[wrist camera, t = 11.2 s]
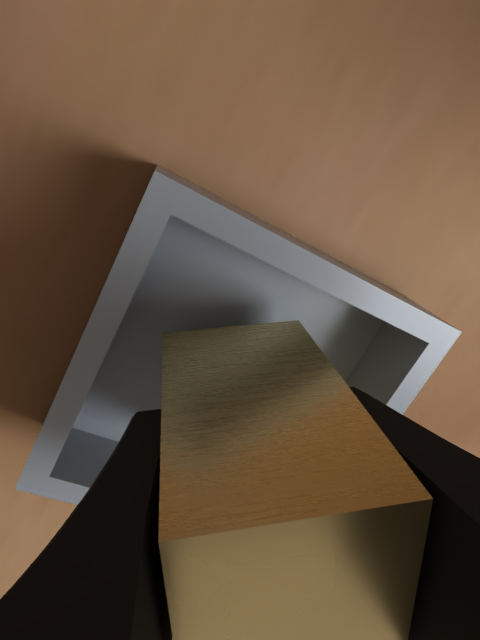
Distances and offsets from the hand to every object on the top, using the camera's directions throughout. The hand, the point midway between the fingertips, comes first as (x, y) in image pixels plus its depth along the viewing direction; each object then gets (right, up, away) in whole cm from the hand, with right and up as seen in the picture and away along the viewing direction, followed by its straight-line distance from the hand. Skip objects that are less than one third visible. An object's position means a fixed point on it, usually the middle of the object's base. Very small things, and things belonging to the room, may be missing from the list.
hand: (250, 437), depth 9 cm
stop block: (0, +1, +2) cm, 2 cm away
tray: (-1, +1, +3) cm, 4 cm away
